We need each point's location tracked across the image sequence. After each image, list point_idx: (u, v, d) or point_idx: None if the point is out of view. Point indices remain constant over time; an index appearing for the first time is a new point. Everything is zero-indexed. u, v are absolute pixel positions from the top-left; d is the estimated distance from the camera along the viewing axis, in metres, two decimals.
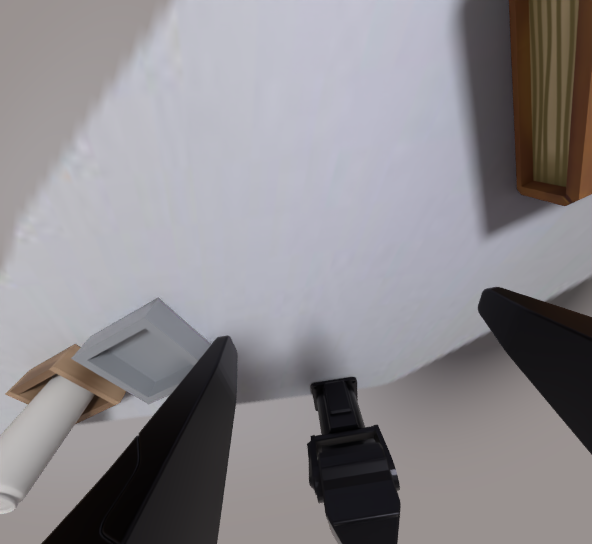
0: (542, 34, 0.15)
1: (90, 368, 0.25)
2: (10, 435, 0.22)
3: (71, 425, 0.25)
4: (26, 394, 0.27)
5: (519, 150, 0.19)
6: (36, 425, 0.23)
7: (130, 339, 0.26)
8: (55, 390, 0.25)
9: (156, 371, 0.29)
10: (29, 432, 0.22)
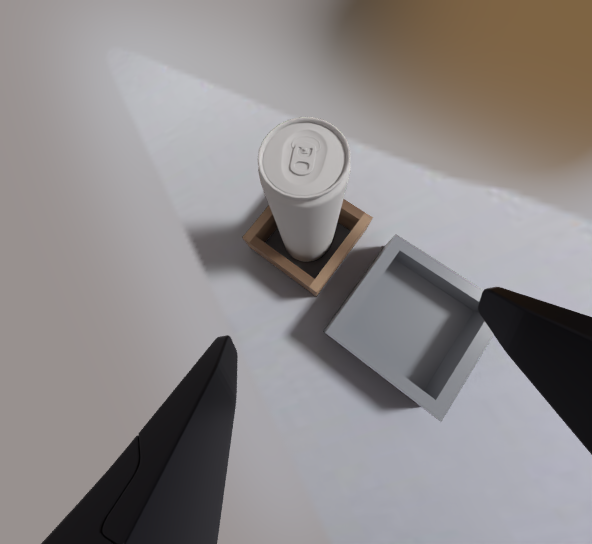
0: None
1: (384, 254, 0.19)
2: None
3: (310, 243, 0.17)
4: None
5: None
6: None
7: (417, 289, 0.21)
8: None
9: (365, 327, 0.20)
10: None
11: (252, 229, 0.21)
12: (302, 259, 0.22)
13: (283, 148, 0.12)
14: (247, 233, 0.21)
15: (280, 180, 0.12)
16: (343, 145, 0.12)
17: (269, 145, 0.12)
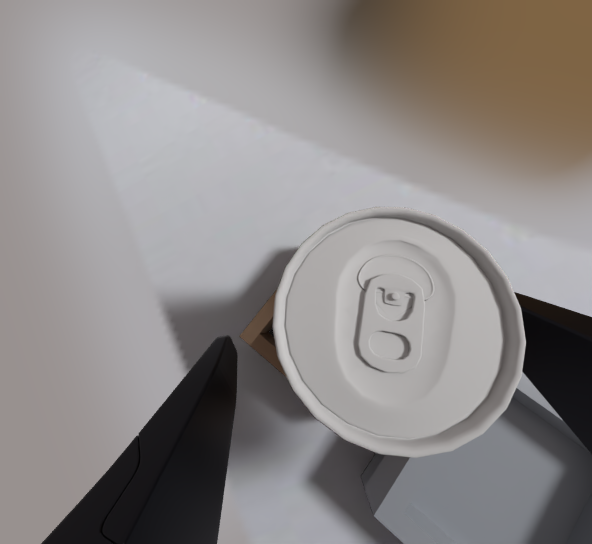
0: None
1: None
2: None
3: None
4: None
5: None
6: None
7: (510, 421, 0.13)
8: None
9: (430, 483, 0.13)
10: None
11: (256, 323, 0.13)
12: None
13: (338, 290, 0.05)
14: (247, 329, 0.13)
15: (333, 386, 0.04)
16: (494, 286, 0.05)
17: (301, 277, 0.05)
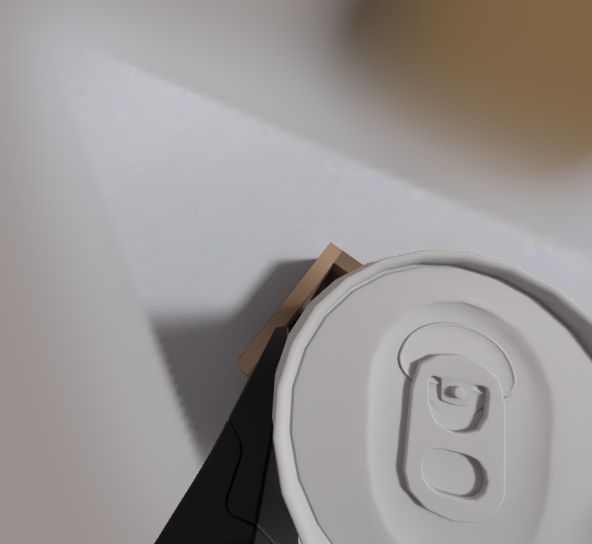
0: None
1: None
2: None
3: None
4: (326, 273, 0.13)
5: None
6: None
7: None
8: None
9: None
10: None
11: (253, 349, 0.12)
12: None
13: (371, 378, 0.03)
14: (243, 357, 0.12)
15: (367, 541, 0.03)
16: None
17: (315, 355, 0.03)
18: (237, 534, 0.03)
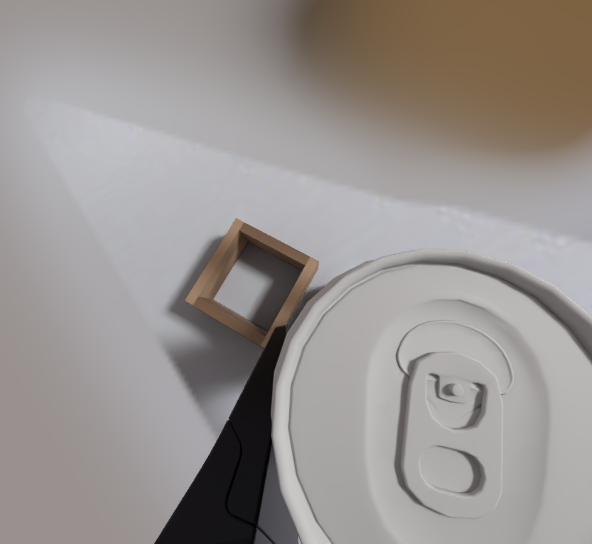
0: None
1: None
2: None
3: None
4: (236, 238, 0.20)
5: None
6: None
7: None
8: None
9: None
10: None
11: (195, 289, 0.19)
12: None
13: (369, 377, 0.03)
14: (189, 295, 0.19)
15: (365, 537, 0.03)
16: None
17: (314, 353, 0.03)
18: (237, 534, 0.03)
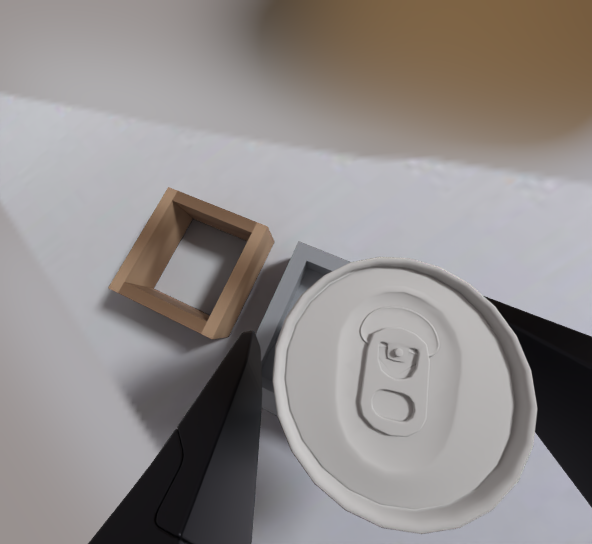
0: None
1: (289, 270, 0.15)
2: None
3: None
4: (170, 210, 0.17)
5: None
6: None
7: None
8: None
9: None
10: None
11: (120, 274, 0.16)
12: None
13: (340, 343, 0.05)
14: (114, 281, 0.16)
15: (334, 448, 0.04)
16: (502, 343, 0.04)
17: (303, 328, 0.05)
18: None
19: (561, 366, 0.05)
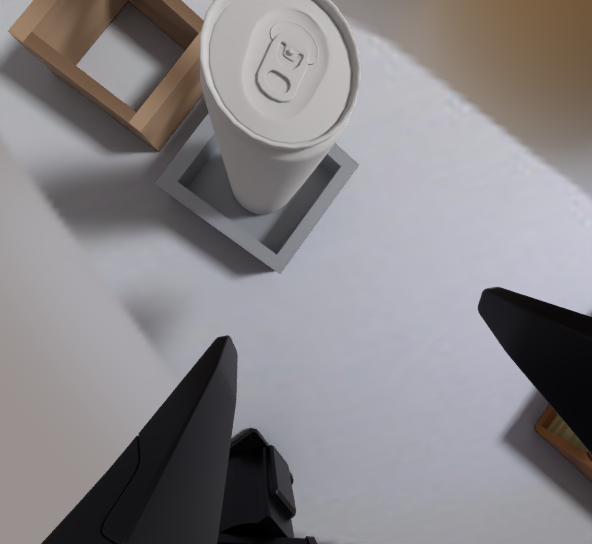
0: None
1: None
2: None
3: (263, 199, 0.13)
4: None
5: None
6: None
7: None
8: None
9: (215, 188, 0.18)
10: None
11: (25, 19, 0.13)
12: (249, 209, 0.17)
13: (254, 31, 0.06)
14: (16, 25, 0.13)
15: (234, 94, 0.06)
16: (352, 73, 0.07)
17: (229, 11, 0.06)
18: None
19: None
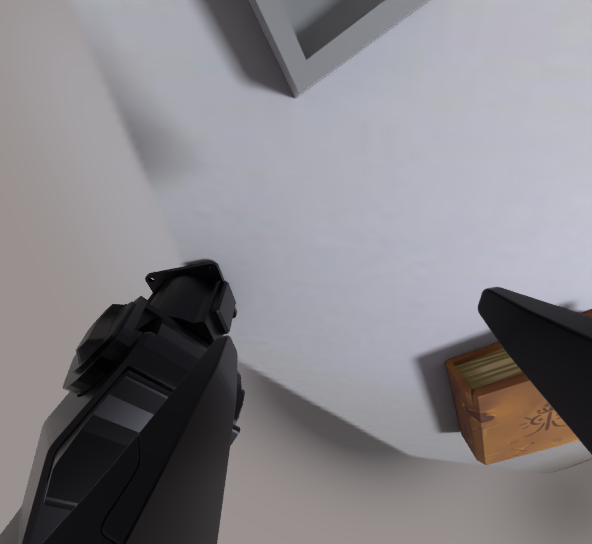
0: None
1: None
2: None
3: None
4: None
5: (477, 353, 0.31)
6: None
7: None
8: None
9: None
10: None
11: None
12: None
13: None
14: None
15: None
16: None
17: None
18: None
19: None
